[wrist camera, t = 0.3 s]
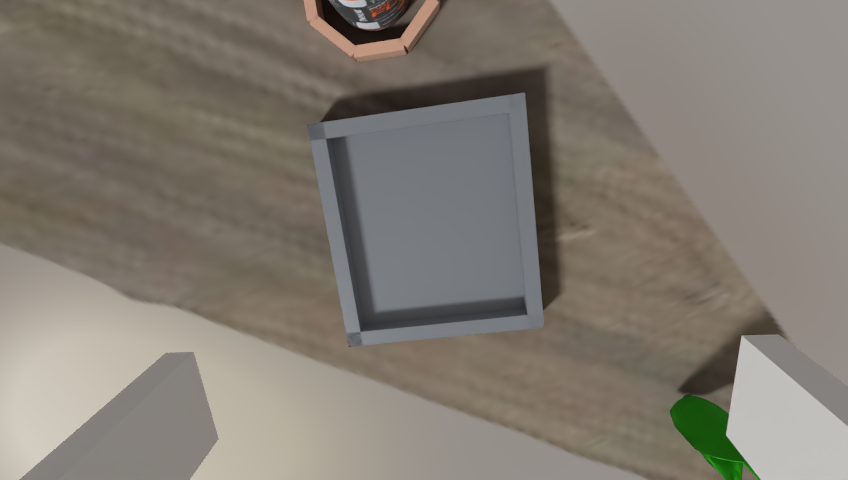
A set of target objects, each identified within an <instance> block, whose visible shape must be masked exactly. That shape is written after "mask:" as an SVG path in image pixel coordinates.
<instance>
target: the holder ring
mask: <svg viewBox="0 0 848 480" xmlns="http://www.w3.org/2000/svg"><path fill="white" fill-rule="evenodd" d="M304 4H305V10H306V15H307V21H308V22H310V25H311V26H312V27H314V28H315V29H316V30H317V31H319V32H320V33H321V34H322V35H324V36H325V37H326V38H327V39H329V40H330V41H331V42H333V43H334V44H335V45H336V46H338V47H339V48H340V49H341V50H343V51H344V52H345V53H346V54H348V55H349V56H350V57H352V58H353V59H354V60H355V61H357V60H358V61H359V62H363V61H369V60H376V59H382V58H388V57H395V56H401V55H407V52H406V50H407V51H408V52H409V53H410V52H411V50H412V49H413V47H414V46H415V44H416V43H417V41H418V40H419V39H420V37H421V36H422V34H423V33H424V31H425V30H426V29H427V27H428V26H429V24H430V23H431V21H432V20H433V18H434V17H435V16H436V14H437V13H438V11H439V6H440V0H426V1H425V3H424V4H423V6H422V7H421V8H420V10H419V11H418V13H417V14H416V16H415V17H414V19H413V20H412V22H411V23H410V25H409V26H408V27H407V29H406V30H405V32H404V33H403V35H402V36H401V38H399V39H393V40H386V41H380V42H374V43H368V44H362V45H354V44H352V43H351V42H350V41H349V40H347V39H346V38H345V37H344V36H342V35H341V34H340V33H339V32H337V31H336V30H335V29H334V28H332V27H331V26H330V25H328V24H327V23H326V22H325V21H324V15H323V9H322V3H321V0H304Z"/></svg>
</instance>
